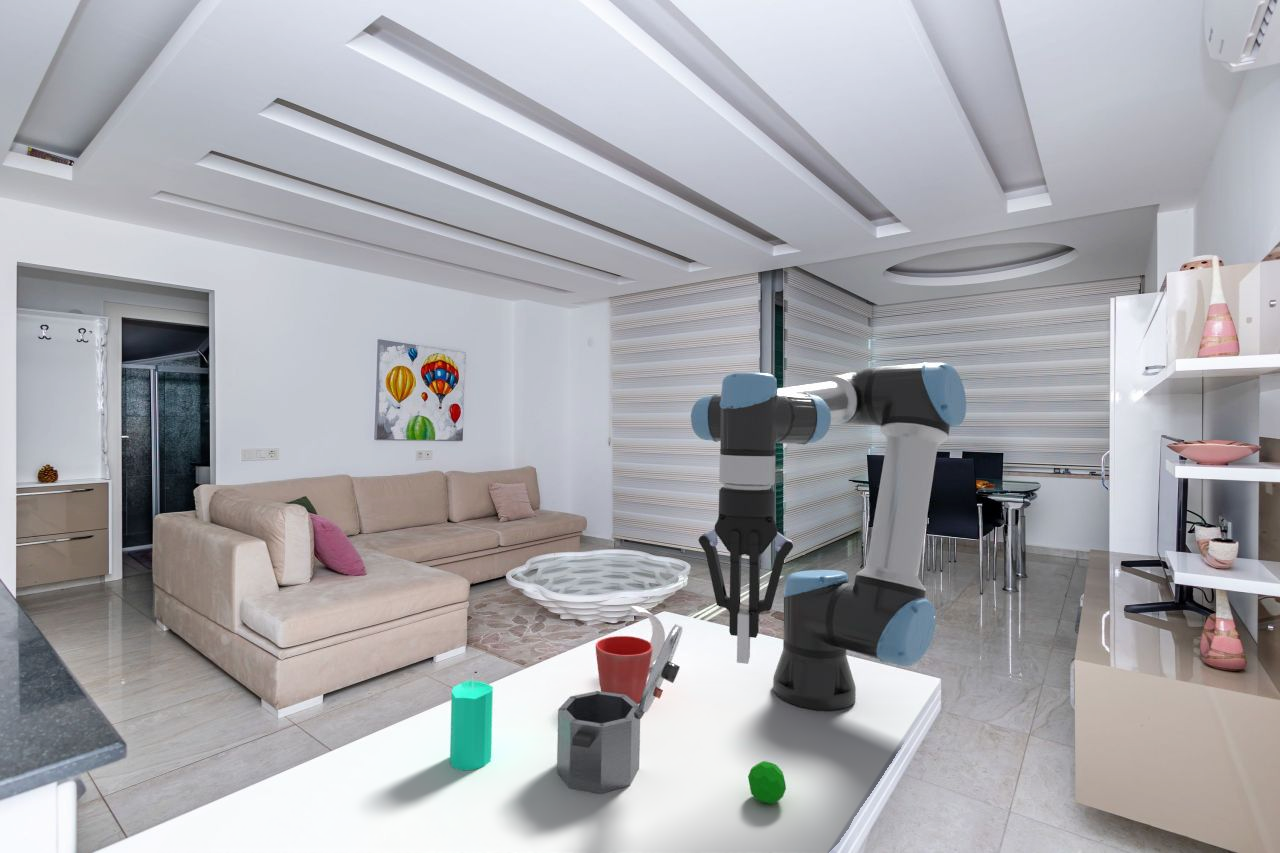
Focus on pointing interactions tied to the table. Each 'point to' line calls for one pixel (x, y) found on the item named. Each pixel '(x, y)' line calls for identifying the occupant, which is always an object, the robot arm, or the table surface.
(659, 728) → the table surface
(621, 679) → the flower pot
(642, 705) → the lid
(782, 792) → the polyhedron
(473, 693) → the candle
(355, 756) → the table surface
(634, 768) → the pot
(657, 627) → the headphone stand
